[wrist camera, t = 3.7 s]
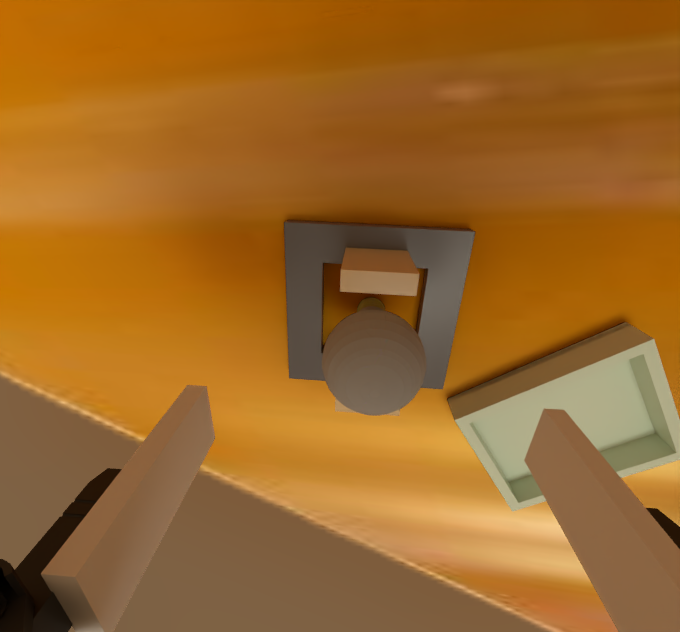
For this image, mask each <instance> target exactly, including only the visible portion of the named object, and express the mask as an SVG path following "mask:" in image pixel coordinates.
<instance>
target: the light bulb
mask: <svg viewBox="0 0 680 632" xmlns="http://www.w3.org/2000/svg"><path fill="white" fill-rule="evenodd" d="M322 370H323V374H324V377H325V380H326V383H327V385H328V387H329V389H330V391H331V392H332V394H333V395H334V396H335V397H336V399H337V400H338V401H339V402H340V403H342V404H343V405H344V406H346V407H347V408H349V409H351V410H353V411H355V412H358V413H361V414H366V415H384V414H389V413H392V412H394V411H397V410H399V409H401V408H402V407H404V406H405V405H407V404H408V403H409V402H410V401H411V400H412V399H413V398H414V397H415V395H416V394H417V392H418V391H419V389H420V387H421V385H422V383H423V379H424V376H425V372H426V355H425V351H424V348H423V344H422V341H421V339H420V337H419V336H418V334H417V333H416V331H415V330H414V329H413V328H412V327H411V326H410V325H409V324H408V323H407V322H406V321H405V320H404V319H402V318H401V317H399V316H397V315H395V314H393V313H390V312H387V311H385V306H384V304H383V303H382V302H381V301H380V300H379V299H377V298H373V297H370V298H366V299H364V300H362V301H361V302H360V303H359V305H358V308H357V313H354V314H352V315H350V316H348V317H346V318H345V319H343V320H342V321H341V322H340V323H339V324H338V325H337V326H336V327H335V328H334V330H333V331H332V332H331V333H330V335H329V337H328V338H327V340H326V343H325V346H324V351H323V357H322Z"/></svg>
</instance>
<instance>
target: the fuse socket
mask: <svg viewBox="0 0 680 632" xmlns="http://www.w3.org/2000/svg"><path fill="white" fill-rule="evenodd" d="M284 234H285V264H286V294H287V325H288V355H289V378H293V379H307V380H321V381H326V380H325V377H324V374H323V370H322V357H323V351H324V347H323V299H324V263H337V264H342V266H341V275H340V292H355V293H372V294H389V295H406V296H416V295H417V288H418V281H419V272H418V270H417V268H425V275H424V281H423V288H422V295H421V301H420V308H419V314H418V321H417V328H416V333H417V334H418V336H419V337H420V339H421V341H422V344H423V348H424V351H425V355H426V372H425V376H424V379H423V383H422V385H421V387H420V388H433V389H443V386H444V381H445V376H446V371H447V367H448V362H449V357H450V352H451V347H452V342H453V338H454V333H455V328H456V323H457V318H458V313H459V308H460V304H461V299H462V294H463V289H464V284H465V279H466V275H467V270H468V265H469V260H470V255H471V250H472V245H473V241H474V236H475V231H473V230H471V229H461V228H441V227H420V226H400V225H380V224H359V223H339V222H319V221H298V220H287V221H285V222H284ZM335 411H342V412H355V411H353V410H351V409H349V408H347V407H346V406H344V405H343V404H342V403H340V402H339V401H338V400H337V399H336V401H335ZM356 413H358V412H356ZM399 413H400V409H399V410H397V411H394V412H392V413H389V414H384V415H395V416H399Z"/></svg>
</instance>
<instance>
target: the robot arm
mask: <svg viewBox="0 0 680 632" xmlns="http://www.w3.org/2000/svg"><path fill="white" fill-rule="evenodd" d="M214 439H215V435H214V429H213V423H212V417H211V411H210V405H209V399H208V393H207V386H194V385H187V386H186V388H185V389H184V390H183V392H182V393H181V394H180V395H179V397H178V398H177V399H176V401H175V402H174V403H173V404H172V406H171V407H170V408H169V410H168V411H167V412H166V413H165V415H164V416H163V417H162V419H161V420H160V421H159V422H158V424H157V425H156V426H155V427H154V429H153V430H152V431H151V433H150V434H149V435H148V436H147V438H146V439H145V440H144V442H143V443H142V444H141V445H140V447H139V448H138V449H137V451H136V452H135V453H134V455H133V456H132V457H131V458H130V460H129V461H128V462H127V464H126V465H125V466H124V467H123V469H110V468H108V469H106V470H105V471H104V472H102V473H101V474H100V475H98V476H97V477H96V478H94V479H93V480H92V481H90V482H89V483H88V484H87V486H86V487H85V488H84V489H83V490H82V491H81V493H80V494H79V495H78V496H77V497H76V499H75V501H74V502H73V503H71V504H70V506H69V507H68V508H67V509H66V510H65V511H64V513H63V516H62V517H59V519H58V520H57V521H56V522H55V523H54V524H53V526H52V527H51V528H50V529H49V530H48V531H47V533H46V534H45V535H44V536H43V537H42V539H41V540H40V541H39V542H38V543H37V544H36V546H35V547H34V548H33V549H32V550H31V551H30V553H29V554H28V555H27V556H26V557H25V559H24V560H23V561H22V562H21V563H20V564H19V566H18V567H17V568H16V569H15V570H14V569H13V567H12V566H11V564H10V563H8V562H7V561H5V560H3V559H0V632H68V631H69V629H70V628H71V626H72V627H73V628H74V630H75V631H76V632H113V631H114V629H115V627H116V625H117V623H118V621H119V619H120V618H121V616H122V614H123V612H124V610H125V608H126V606H127V604H128V602H129V601H130V599H131V597H132V595H133V593H134V591H135V589H136V587H137V585H138V583H139V582H140V580H141V578H142V576H143V574H144V572H145V570H146V568H147V566H148V565H149V563H150V561H151V559H152V557H153V555H154V553H155V551H156V549H157V547H158V545H159V544H160V542H161V540H162V538H163V536H164V534H165V532H166V530H167V528H168V527H169V525H170V523H171V521H172V519H173V517H174V515H175V513H176V511H177V509H178V508H179V506H180V504H181V502H182V500H183V498H184V496H185V494H186V492H187V490H188V489H189V486H190V485H191V483H192V481H193V479H194V477H195V475H196V474H197V472H198V470H199V468H200V466H201V464H202V462H203V460H204V458H205V456H206V455H207V453H208V451H209V449H210V447H211V445H212V443H213V441H214ZM524 461H525V463H526V465H527V466H528V468H529V470H530V472H531V474H532V475H533V477H534V479H535V481H536V483H537V485H538V486H539V488H540V490H541V492H542V494H543V495H544V497H545V499H546V501H547V503H548V505H549V506H550V508H551V510H552V512H553V514H554V515H555V517H556V519H557V521H558V523H559V524H560V526H561V528H562V530H563V532H564V534H565V535H566V537H567V539H568V541H569V543H570V544H571V546H572V548H573V550H574V552H575V553H576V555H577V557H578V559H579V561H580V563H581V564H582V566H583V568H584V570H585V572H586V573H587V575H588V577H589V579H590V581H591V583H592V584H593V586H594V588H595V590H596V592H597V593H598V595H599V597H600V599H601V601H602V602H603V604H604V606H605V608H606V610H607V612H608V613H609V615H610V617H611V619H612V621H613V622H614V624H615V626H616V628H617V630H618V631H619V632H680V527H679V526H678V525H677V524H675V523H674V522H673V521H672V520H670V519H669V518H668V517H667V516H665V515H664V514H663V513H662V512H660V511H659V510H658V509H655V508H645V507H644V506H643V504H642V503H641V502H640V501H639V500H638V498H637V497H636V496H635V495H634V493H633V492H632V491H631V490H630V489H629V487H628V486H627V485H626V484H625V483H624V481H623V480H622V479H621V478H620V477H619V475H618V474H617V473H616V472H615V470H614V469H613V468H612V467H611V466H610V464H609V463H608V462H607V461H606V460H605V458H604V457H603V456H602V455H601V454H600V452H599V451H598V450H597V449H596V448H595V446H594V445H593V444H592V443H591V441H590V440H589V439H588V438H587V437H586V435H585V434H584V433H583V432H582V431H581V429H580V428H579V427H578V426H577V425H576V423H575V422H574V421H573V420H572V418H571V417H570V416H569V415H568V414H567V412H566V411H565V410H560V409H545V408H544V409H543V412H542V415H541V417H540V420H539V422H538V425H537V428H536V430H535V433H534V436H533V438H532V441H531V444H530V446H529V449H528V451H527V454H526V457H525V459H524Z"/></svg>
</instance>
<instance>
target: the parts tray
mask: <svg viewBox="0 0 680 632" xmlns="http://www.w3.org/2000/svg"><path fill="white" fill-rule="evenodd" d="M447 400H448V403H449V406H450V409H451V411H452V414H453V417H454V420H455V422H456V423H457V425H458V426H459V428H460V430H461V431H462V433H463V434H464V436H465V437H466V439H467V441H468V442H469V444H470V445H471V447H472V448H473V450H474V452H475V453H476V455H477V456H478V458H479V459H480V461H481V463H482V464H483V466H484V467H485V469H486V471H487V472H488V474H489V475H490V477H491V478H492V480H493V482H494V483H495V485H496V486H497V488H498V489H499V491H500V493H501V494H502V496H503V497H504V499H505V500H506V502H507V504H508V505H509V507H510V508H511V510H512V511H516V510H519V509H522V508H525V507H529V506H532V505H535V504H538V503H541V502H545V501H546V499H545V497H544V495H543V494H542V492H541V490H540V488H539V486H538V485H537V483H536V481H535V479H534V477H533V475H532V474H531V472H530V470H529V468H528V466H527V465H526V463H525V461H524V459H525V457H526V454H527V451H528V449H529V446H530V444H531V441H532V438H533V436H534V433H535V430H536V428H537V425H538V422H539V420H540V417H541V415H542V412H543V409H544V408H545V409H560V410H565V411H566V412H567V414H568V415H569V416H570V417H571V418H572V420H573V421H574V422H575V423H576V425H577V426H578V427H579V428H580V429H581V431H582V432H583V433H584V434H585V435H586V437H587V438H588V439H589V440H590V441H591V443H592V444H593V445H594V446H595V448H596V449H597V450H598V451H599V452H600V454H601V455H602V456H603V457H604V458H605V460H606V461H607V462H608V463H609V464H610V466H611V467H612V468H613V469H614V470H615V472H616V473H617V474H618V475H619V477H620V478H622V477H625V476H629V475H632V474H635V473H638V472H642V471H645V470H648V469H651V468H654V467H658V466H661V465H664V464H667V463H671V462H674V461H677V460H680V419H679V416H678V413H677V410H676V407H675V404H674V400H673V397H672V394H671V391H670V388H669V385H668V381H667V378H666V375H665V372H664V369H663V366H662V362H661V359H660V356H659V353H658V350H657V347H656V343H655V340H654V339H653V338H652V337H650V336H648V335H647V334H645V333H643V332H642V331H640V330H638V329H637V328H635V327H633V326H632V325H630V324H628V323H627V322H625V323H622V324H620V325H618V326H615V327H613V328H611V329H608V330H606V331H604V332H601V333H599V334H597V335H594V336H592V337H590V338H587V339H585V340H583V341H580V342H578V343H576V344H573V345H571V346H569V347H567V348H564V349H562V350H560V351H557V352H555V353H553V354H550V355H548V356H546V357H543V358H541V359H539V360H536V361H534V362H532V363H529V364H527V365H525V366H522V367H520V368H518V369H515V370H513V371H511V372H508V373H506V374H504V375H502V376H499V377H497V378H495V379H492V380H490V381H488V382H485V383H483V384H481V385H478V386H476V387H474V388H471V389H469V390H467V391H464V392H462V393H460V394H457V395H455V396H453V397H450V398H448V399H447Z"/></svg>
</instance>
